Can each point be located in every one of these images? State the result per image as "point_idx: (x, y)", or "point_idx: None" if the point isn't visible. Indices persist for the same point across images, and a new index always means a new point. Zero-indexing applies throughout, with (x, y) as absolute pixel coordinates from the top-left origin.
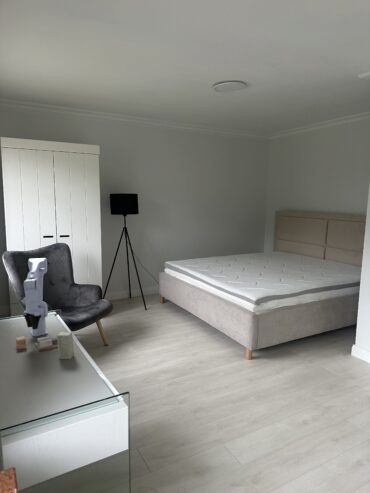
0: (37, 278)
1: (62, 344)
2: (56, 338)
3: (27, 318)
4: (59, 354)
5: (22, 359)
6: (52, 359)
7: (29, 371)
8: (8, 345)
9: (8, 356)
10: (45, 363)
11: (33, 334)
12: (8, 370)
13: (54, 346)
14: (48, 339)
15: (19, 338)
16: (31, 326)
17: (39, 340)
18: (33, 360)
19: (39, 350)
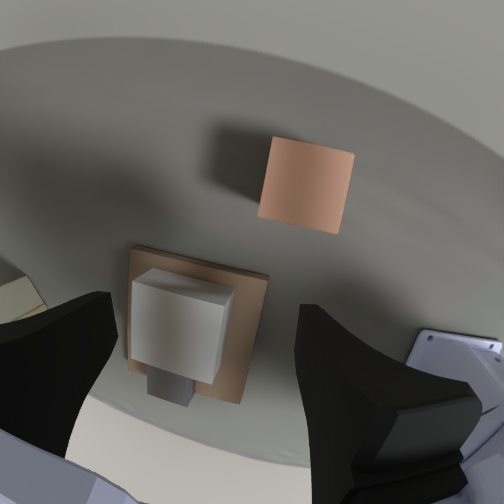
0: None
1: None
2: (171, 391)
3: (335, 397)
4: (10, 283)
5: (104, 126)
6: (30, 250)
7: (4, 133)
8: (413, 131)
9: (206, 64)
10: (17, 209)
11: (444, 340)
12: (57, 54)
13: (128, 335)
14: (149, 347)
15: (312, 172)
16: (296, 346)
17: (170, 296)
18: (60, 174)
19: (132, 248)
